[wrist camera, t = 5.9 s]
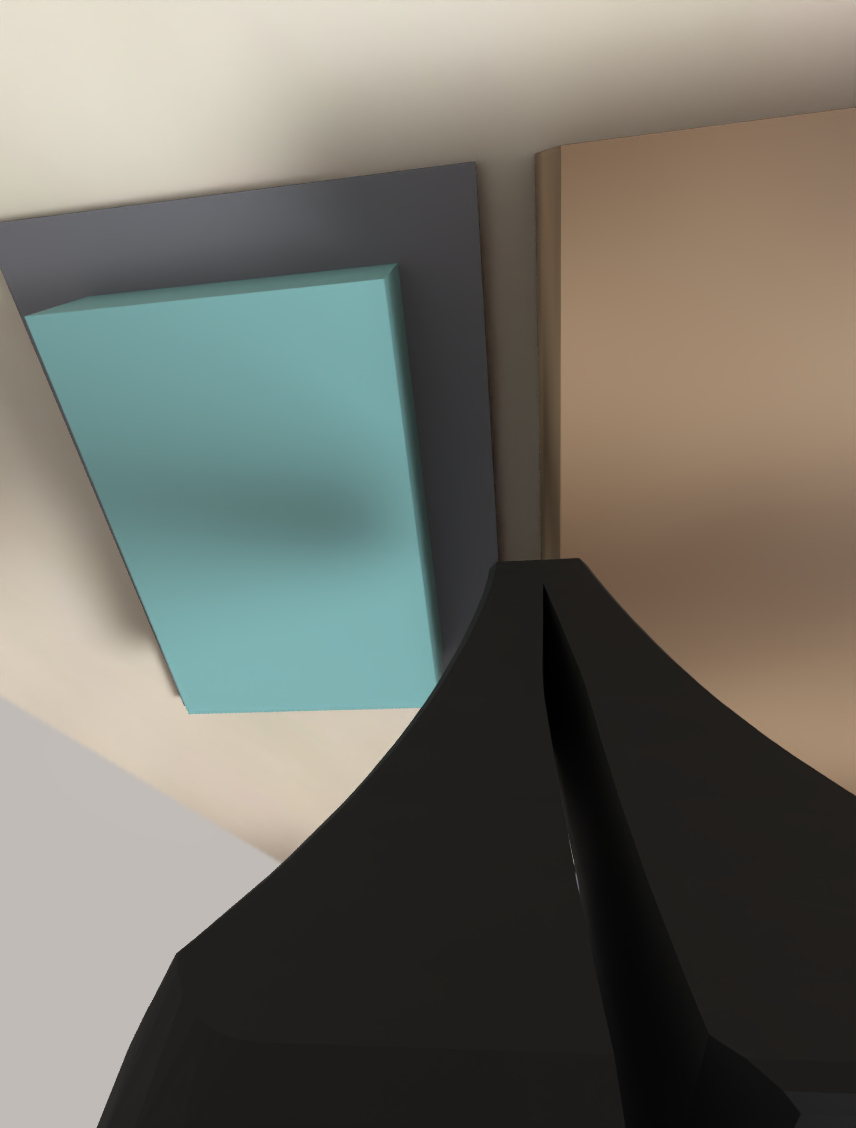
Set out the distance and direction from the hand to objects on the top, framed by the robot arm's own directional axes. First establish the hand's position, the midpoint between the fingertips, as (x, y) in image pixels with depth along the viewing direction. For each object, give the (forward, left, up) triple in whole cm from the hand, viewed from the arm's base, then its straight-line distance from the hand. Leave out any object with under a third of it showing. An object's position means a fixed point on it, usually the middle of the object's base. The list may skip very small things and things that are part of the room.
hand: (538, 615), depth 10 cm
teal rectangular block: (0, +5, -3) cm, 6 cm away
